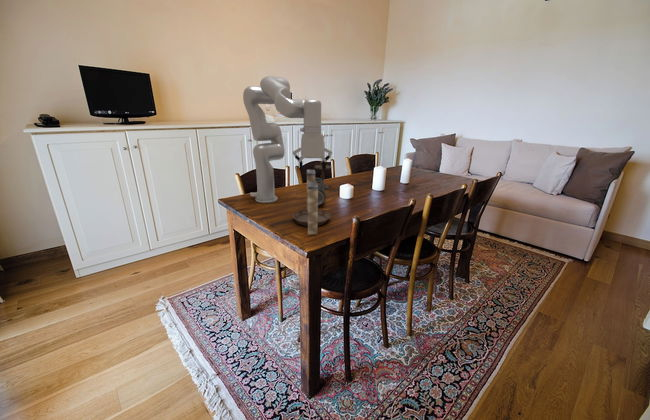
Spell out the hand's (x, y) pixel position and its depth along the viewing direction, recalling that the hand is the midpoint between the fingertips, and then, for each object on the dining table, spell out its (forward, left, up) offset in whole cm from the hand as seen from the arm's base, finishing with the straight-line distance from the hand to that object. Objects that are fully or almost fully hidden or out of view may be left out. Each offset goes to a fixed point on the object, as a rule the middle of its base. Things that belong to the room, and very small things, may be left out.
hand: (312, 170), depth 125 cm
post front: (0, -11, -24) cm, 27 cm away
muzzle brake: (+4, +31, -25) cm, 40 cm away
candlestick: (+9, +56, -24) cm, 62 cm away
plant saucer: (0, 0, -25) cm, 25 cm away
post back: (0, +12, -24) cm, 27 cm away
